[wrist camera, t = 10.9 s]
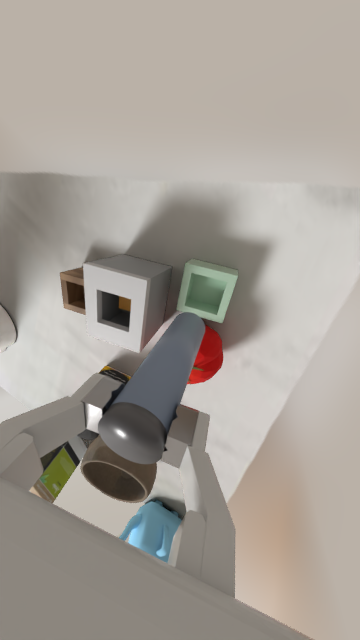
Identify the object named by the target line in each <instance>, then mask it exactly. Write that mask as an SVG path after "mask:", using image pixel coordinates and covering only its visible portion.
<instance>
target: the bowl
mask: <svg viewBox="0 0 360 640" xmlns="http://www.w3.org/2000/svg"><path fill="white" fill-rule="evenodd" d="M81 472H82V474H83V475H84V477H85V478H86V480H87V481H88V482H89V483H90V484H91V485H93V486H94V487H95V488H97V489H98V490H100V491H101V492H102V493H104V494H106V495H107V496H109V497H111V498H114V499H116V500H119V501H123V502H129V503H137V502H142V501H144V500H145V499H146V498H147V497H148V495H149V494H150V492H151V490H152V488H153V484H154V481H155V478H156V472H157V464H156V463H153V464H139V463H135V462H132V461H129V460H127V459H125V458H123V457H121V456H120V455H118V454H117V453H115V452H114V451H113V450H111V449H110V448H109V447H108V446H107V445H106V444H105V442H104V441H103V440H102V438H101V436H100V435H99V436H98V437H97V438H96V439H94V440H93V442H92V443H91V444H90V445H89V447H88V448H87V450H86V452H85V455H84V457H83V460H82V463H81Z"/></svg>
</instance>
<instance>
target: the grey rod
mask: <svg viewBox="0 0 360 640" xmlns="http://www.w3.org/2000/svg"><path fill="white" fill-rule="evenodd" d="M204 333H205V324H204V322H203V320H202V319H201V318H200V317H199V316H198V315H196V314H194V313H191V312H184V313H181V314H179V315H178V316H177V317H176V318H175V319H174V321H173V322H172V323H171V325H170V326H169V327H168V329H167V330H166V331H165V333H164V334H163V336H162V337H161V338H160V340H159V341H158V342H157V344H156V345H155V346H154V348H153V349H152V350H151V352H150V353H149V354H148V356H147V357H146V358H145V360H144V361H143V363H142V364H141V365H140V367H139V368H138V369H137V371H136V372H135V373H134V375H133V376H132V377H131V379H130V380H129V381H128V383H127V384H126V385H125V387H124V388H123V390H122V391H121V392H120V394H119V395H118V396H117V398H116V399H115V400H114V402H113V403H112V404H111V406H110V407H109V408H108V410H107V411H106V412H105V414H104V415H103V417H102V418H101V419H100V421H99V423H98V432H99V434H100V436H101V438H102V440H103V441H104V442H105V444H106V445H107V446H108V447H109V448H110V449H111V450H113V451H114V452H115V453H117V454H118V455H120V456H121V457H123V458H125V459H127V460H129V461H132V462H135V463H139V464H153V463H156V462H157V461H159V460H160V458H161V456H162V454H163V451H164V448H165V443H166V440H167V436H168V433H169V430H170V427H171V424H172V421H173V420H174V416H175V413H176V410H177V407H178V404H180V402H181V399H182V396H183V393H184V391H185V388H186V385H187V382H188V379H189V376H190V373H191V371H192V368H193V365H194V362H195V359H196V356H197V353H198V350H199V348H200V345H201V342H202V339H203V336H204Z"/></svg>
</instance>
